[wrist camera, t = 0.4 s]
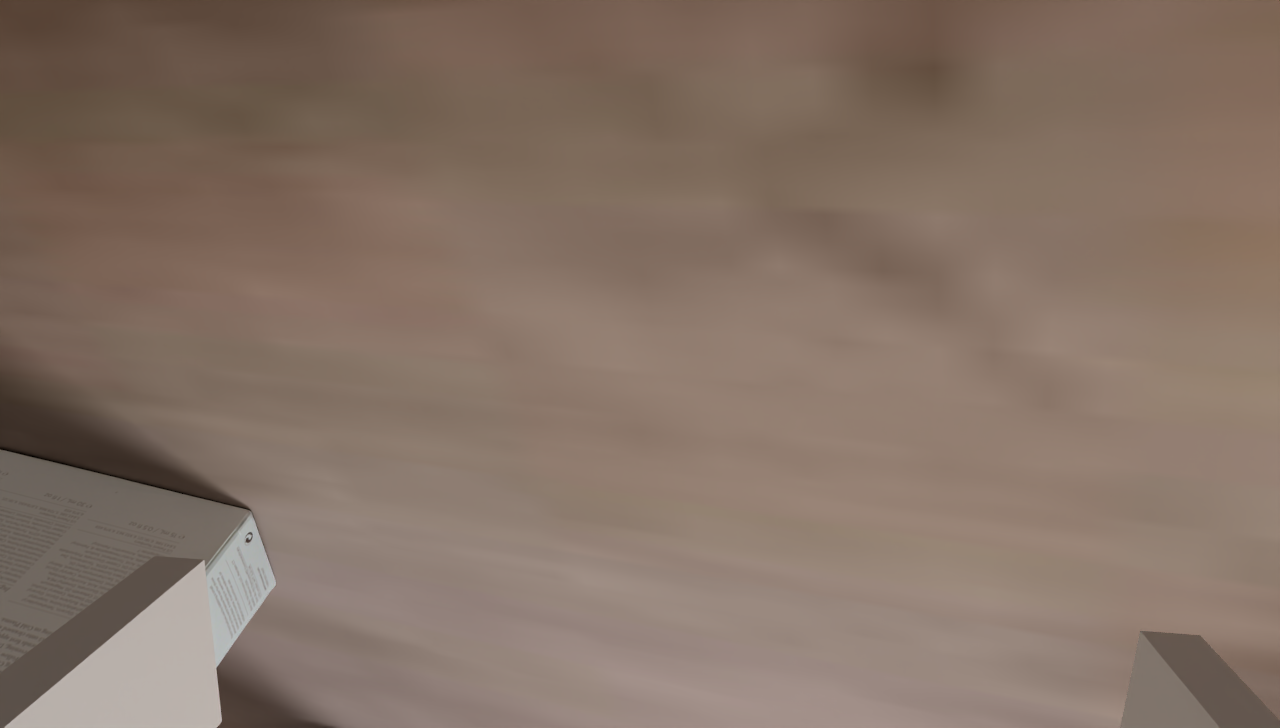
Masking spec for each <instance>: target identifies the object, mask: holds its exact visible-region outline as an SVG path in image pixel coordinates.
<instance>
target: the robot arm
mask: <svg viewBox="0 0 1280 728" xmlns="http://www.w3.org/2000/svg"><path fill="white" fill-rule="evenodd" d="M221 722H222V716H221V707H220V698H219V689H218V679H217V670H216V661H215V652H214V643H213V634H212V625H211V616H210V607H209V598H208V589H207V579H206V570H205V561H204V560H202V559H189V558H176V557H163V556H154V557H152V558H151V559H150V560H148V561H147V562H146V563H144V564H143V565H142V566H140V567H139V568H138V569H136V570H135V571H134V572H132V573H131V574H130V575H129V576H127V577H126V578H125V579H123V580H122V581H121V582H119V583H118V584H117V585H115V586H114V587H113V588H111V589H110V590H109V591H107V592H106V593H105V594H103V595H102V596H101V597H99V598H98V599H97V600H96V601H94V602H93V603H92V604H90V605H89V606H88V607H86V608H85V609H84V610H82V611H81V612H80V613H78V614H77V615H76V616H74V617H73V618H72V619H70V620H69V621H68V622H66V623H65V624H64V625H63V626H61V627H60V628H59V629H57V630H56V631H55V632H53V633H52V634H51V635H49V636H48V637H47V638H45V639H44V640H43V641H41V642H40V643H39V644H37V645H36V646H35V647H33V648H32V649H31V650H30V651H28V652H27V653H26V654H24V655H23V656H22V657H20V658H19V659H18V660H16V661H15V662H14V663H12V664H11V665H10V666H8V667H7V668H6V669H4V670H3V671H2V672H0V728H217V727H218V726H219V724H220V723H221ZM1120 728H1280V721H1279V720H1278V719H1277V717H1276V716H1275V715H1274V714H1273V713H1272V712H1271V711H1270V710H1269V709H1268V708H1267V707H1266V706H1265V705H1264V704H1263V702H1262V701H1261V700H1260V699H1259V698H1258V697H1257V696H1256V695H1255V694H1254V693H1253V692H1252V691H1251V690H1250V688H1249V687H1248V686H1247V685H1246V684H1245V683H1244V682H1243V681H1242V680H1241V679H1240V678H1239V677H1238V676H1237V675H1236V673H1235V672H1234V671H1233V670H1232V669H1231V668H1230V667H1229V666H1228V665H1227V664H1226V663H1225V662H1224V661H1223V660H1222V658H1221V657H1220V656H1219V655H1218V654H1217V653H1216V652H1215V651H1214V650H1213V649H1212V648H1211V647H1210V646H1209V645H1208V643H1207V642H1206V641H1205V640H1204V639H1203V638H1202V637H1201V636H1200V635H1187V634H1174V633H1161V632H1148V631H1140V635H1139V640H1138V645H1137V649H1136V654H1135V659H1134V664H1133V669H1132V673H1131V678H1130V683H1129V688H1128V693H1127V698H1126V702H1125V707H1124V712H1123V717H1122V722H1121V727H1120Z"/></svg>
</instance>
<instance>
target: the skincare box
mask: <svg viewBox="0 0 1280 728" xmlns="http://www.w3.org/2000/svg"><path fill="white" fill-rule="evenodd" d="M154 556H163V557H176V558H189V559H202V560H204V561H205V570H206V579H207V589H208V598H209V607H210V616H211V625H212V634H213V643H214V652H215V661H216V668H217V666H218V665H219V664H220V662H221V661H222V659H223V658H224V656H225V655H226V654H227V652H228V651H229V649H230V648H231V646H232V645H233V643H234V642H235V641H236V639H237V638H238V636H239V635H240V633H241V632H242V631H243V629H244V628H245V626H246V625H247V624H248V622H249V621H250V619H251V618H252V617H253V615H254V614H255V613H256V611H257V610H258V609H259V607H260V606H261V604H262V603H263V601H264V600H265V599H266V597H267V596H268V594H269V593H270V591H271V590H272V589H273V588H274V587H275V585H276V581H275V578H274V575H273V572H272V569H271V566H270V563H269V560H268V557H267V555H266V552H265V549H264V546H263V543H262V541H261V538H260V535H259V532H258V529H257V527H256V524H255V521H254V518H253V515H252V512H251V511H249V510H247V509H243V508H239V507H234V506H230V505H226V504H222V503H218V502H214V501H210V500H205V499H201V498H197V497H193V496H189V495H185V494H181V493H177V492H173V491H169V490H165V489H160V488H156V487H152V486H148V485H144V484H140V483H136V482H132V481H128V480H124V479H120V478H116V477H112V476H108V475H104V474H100V473H96V472H92V471H88V470H84V469H80V468H76V467H72V466H68V465H63V464H59V463H55V462H51V461H47V460H42V459H38V458H34V457H30V456H25V455H21V454H17V453H13V452H9V451H5V450H1V449H0V672H2V671H3V670H4V669H6V668H7V667H8V666H10V665H11V664H12V663H14V662H15V661H16V660H18V659H19V658H20V657H22V656H23V655H24V654H26V653H27V652H28V651H30V650H31V649H32V648H33V647H35V646H36V645H37V644H39V643H40V642H41V641H43V640H44V639H45V638H47V637H48V636H49V635H51V634H52V633H53V632H55V631H56V630H57V629H59V628H60V627H61V626H63V625H64V624H65V623H66V622H68V621H69V620H70V619H72V618H73V617H74V616H76V615H77V614H78V613H80V612H81V611H82V610H84V609H85V608H86V607H88V606H89V605H90V604H92V603H93V602H94V601H96V600H97V599H98V598H99V597H101V596H102V595H103V594H105V593H106V592H107V591H109V590H110V589H111V588H113V587H114V586H115V585H117V584H118V583H119V582H121V581H122V580H123V579H125V578H126V577H127V576H129V575H130V574H131V573H132V572H134V571H135V570H136V569H138V568H139V567H140V566H142V565H143V564H144V563H146V562H147V561H148V560H150V559H151V558H152V557H154Z"/></svg>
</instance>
